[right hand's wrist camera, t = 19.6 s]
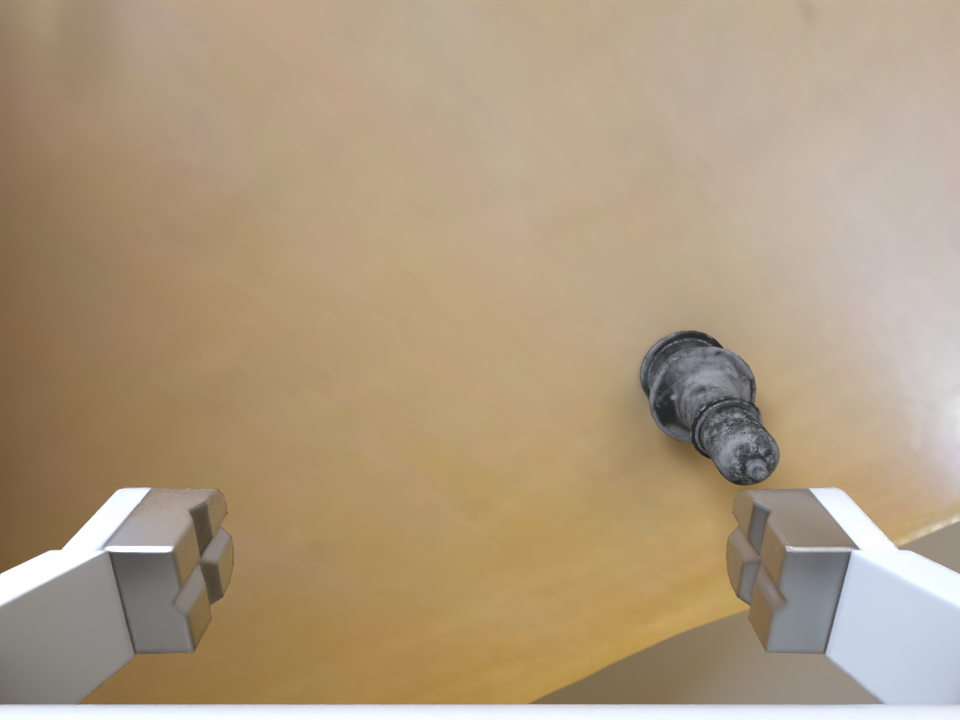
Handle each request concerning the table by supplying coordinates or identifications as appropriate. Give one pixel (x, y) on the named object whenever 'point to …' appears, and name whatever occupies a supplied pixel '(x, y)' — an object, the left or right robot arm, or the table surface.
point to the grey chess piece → (709, 404)
